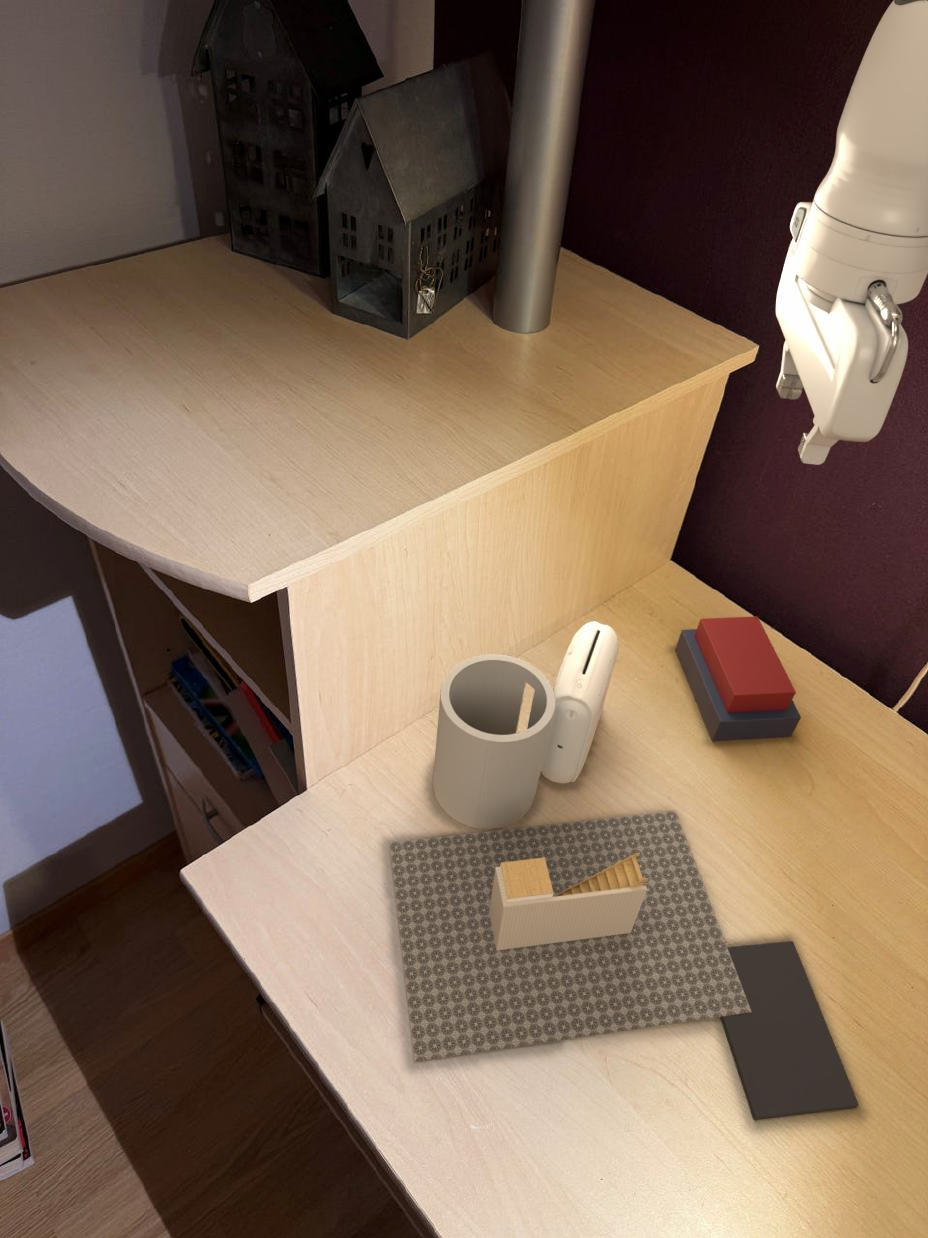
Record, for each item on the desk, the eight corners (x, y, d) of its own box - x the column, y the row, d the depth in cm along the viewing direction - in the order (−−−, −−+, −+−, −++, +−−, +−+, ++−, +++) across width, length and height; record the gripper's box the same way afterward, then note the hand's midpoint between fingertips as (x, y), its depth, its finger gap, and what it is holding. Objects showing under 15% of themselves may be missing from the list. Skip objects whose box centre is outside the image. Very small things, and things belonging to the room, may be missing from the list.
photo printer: (576, 792, 80) (602, 701, 72) (530, 776, 81) (550, 685, 73) (603, 709, 87) (629, 618, 79) (560, 695, 88) (581, 604, 80)
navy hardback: (674, 649, 94) (681, 629, 92) (747, 646, 95) (755, 626, 93) (711, 742, 86) (720, 721, 84) (791, 737, 87) (801, 717, 85)
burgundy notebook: (694, 636, 91) (700, 618, 90) (750, 633, 92) (757, 616, 91) (727, 712, 84) (734, 695, 83) (787, 709, 85) (796, 692, 84)
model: (489, 911, 71) (496, 860, 66) (619, 895, 73) (636, 844, 68) (496, 950, 69) (504, 901, 64) (630, 933, 71) (649, 883, 65)
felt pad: (790, 944, 72) (793, 940, 71) (856, 1108, 63) (859, 1105, 63) (699, 952, 70) (701, 949, 70) (753, 1121, 62) (756, 1118, 62)
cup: (419, 811, 78) (425, 722, 69) (450, 732, 84) (459, 642, 76) (521, 842, 76) (540, 755, 68) (545, 759, 83) (565, 671, 74)
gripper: (956, 328, 55) (868, 508, 65) (872, 204, 70) (811, 366, 80) (853, 317, 55) (781, 499, 65) (791, 196, 70) (739, 359, 80)
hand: (797, 425), depth 73 cm, fingers open, 8 cm apart
